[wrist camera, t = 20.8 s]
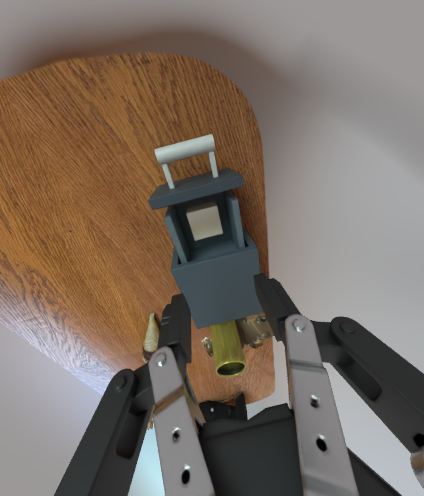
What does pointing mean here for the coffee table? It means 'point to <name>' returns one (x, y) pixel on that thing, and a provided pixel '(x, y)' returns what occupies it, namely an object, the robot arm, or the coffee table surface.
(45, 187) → the coffee table surface
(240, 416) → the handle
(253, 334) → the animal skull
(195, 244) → the drawer
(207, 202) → the block
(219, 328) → the vase
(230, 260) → the cabinet
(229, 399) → the knife
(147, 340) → the ice cream cone
